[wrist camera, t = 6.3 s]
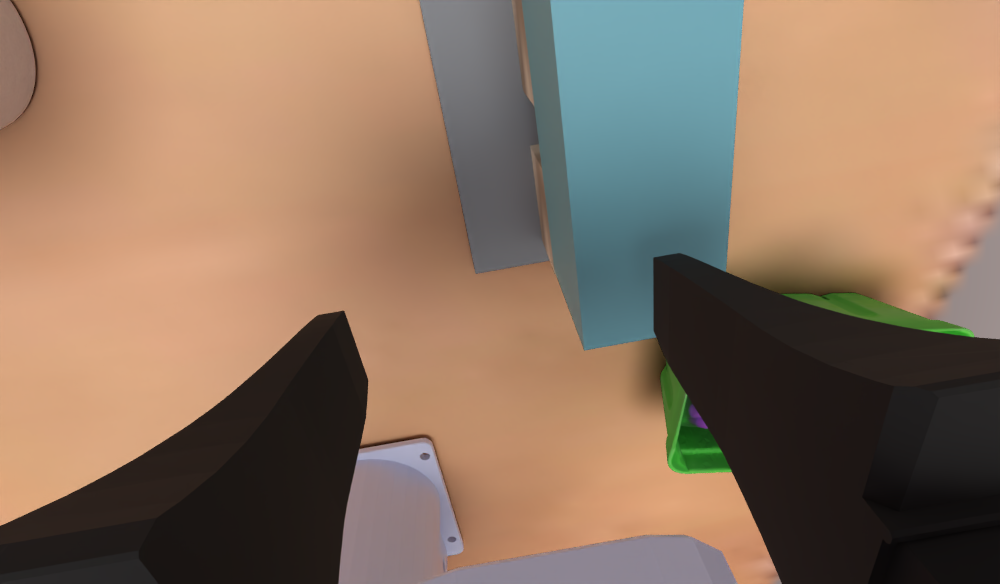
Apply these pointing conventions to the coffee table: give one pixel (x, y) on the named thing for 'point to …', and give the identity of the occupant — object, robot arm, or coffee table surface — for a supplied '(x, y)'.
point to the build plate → (487, 128)
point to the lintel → (632, 146)
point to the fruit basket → (690, 435)
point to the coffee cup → (14, 65)
